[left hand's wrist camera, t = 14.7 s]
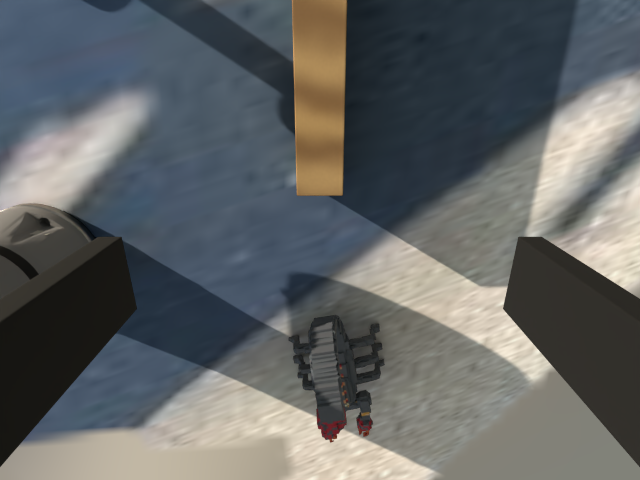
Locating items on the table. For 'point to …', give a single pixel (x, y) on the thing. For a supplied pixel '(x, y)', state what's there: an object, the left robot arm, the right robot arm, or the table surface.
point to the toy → (337, 374)
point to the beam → (319, 94)
